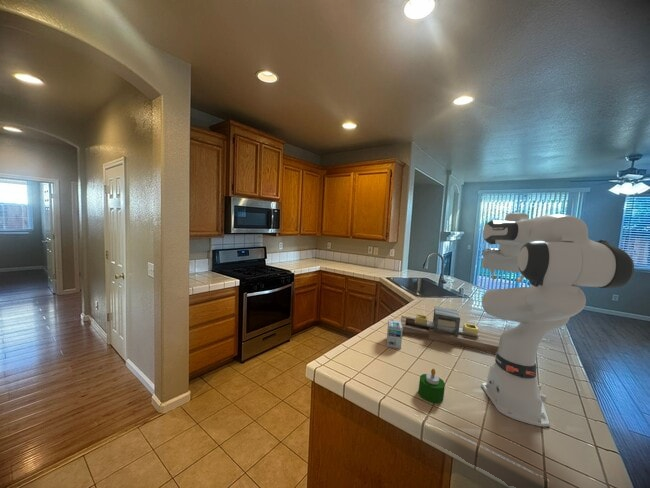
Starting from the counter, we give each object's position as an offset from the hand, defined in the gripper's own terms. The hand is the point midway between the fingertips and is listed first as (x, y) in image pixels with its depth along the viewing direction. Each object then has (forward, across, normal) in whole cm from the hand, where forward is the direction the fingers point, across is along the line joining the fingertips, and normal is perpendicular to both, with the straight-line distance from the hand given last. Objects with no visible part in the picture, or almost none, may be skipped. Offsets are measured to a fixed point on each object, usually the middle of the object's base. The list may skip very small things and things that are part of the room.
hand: (506, 280), depth 113 cm
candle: (+35, -28, -42) cm, 61 cm away
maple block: (+37, -20, +17) cm, 45 cm away
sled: (+36, -20, +17) cm, 45 cm away
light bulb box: (+39, -45, -7) cm, 60 cm away
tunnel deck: (+41, -17, +17) cm, 47 cm away
